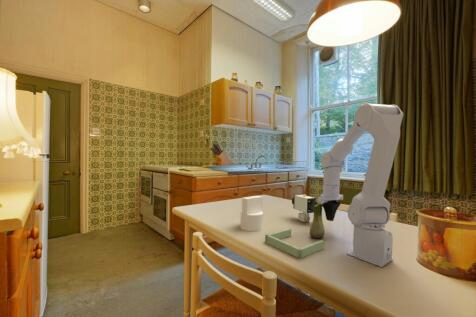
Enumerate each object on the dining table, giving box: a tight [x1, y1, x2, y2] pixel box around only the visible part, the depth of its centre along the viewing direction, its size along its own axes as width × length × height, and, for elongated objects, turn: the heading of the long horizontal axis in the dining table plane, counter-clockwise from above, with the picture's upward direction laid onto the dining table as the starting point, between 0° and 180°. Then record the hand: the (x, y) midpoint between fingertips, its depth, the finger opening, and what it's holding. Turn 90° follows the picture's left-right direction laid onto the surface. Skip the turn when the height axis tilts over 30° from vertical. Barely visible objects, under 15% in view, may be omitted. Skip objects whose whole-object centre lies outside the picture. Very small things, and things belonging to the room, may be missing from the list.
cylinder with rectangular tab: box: [239, 195, 264, 232], centre depth 88 cm, size 9×9×12 cm
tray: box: [264, 228, 325, 259], centre depth 71 cm, size 14×12×2 cm
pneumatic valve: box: [291, 193, 319, 223], centre depth 99 cm, size 6×12×12 cm, turn 29°
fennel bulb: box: [309, 203, 326, 239], centre depth 79 cm, size 6×5×12 cm
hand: (329, 220), depth 84 cm, fingers closed
